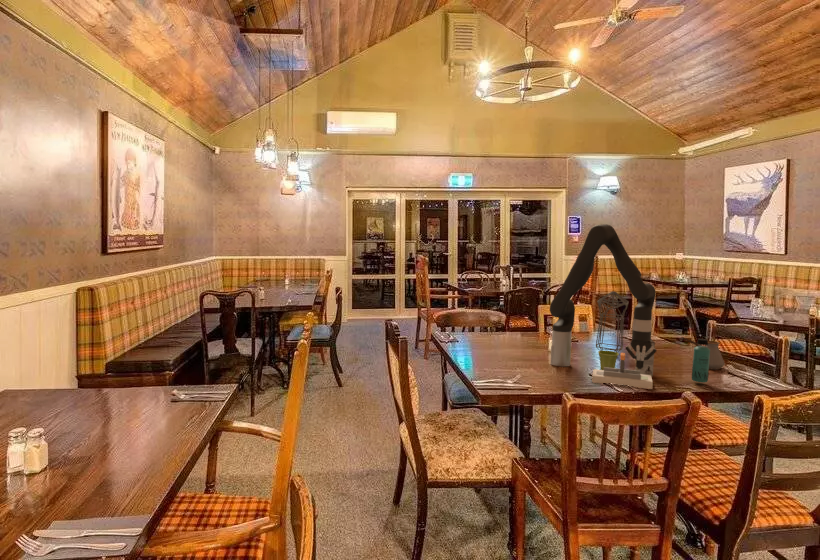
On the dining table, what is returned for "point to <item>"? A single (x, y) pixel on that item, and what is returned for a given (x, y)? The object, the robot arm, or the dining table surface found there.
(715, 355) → the coffee pot
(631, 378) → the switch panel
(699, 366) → the beverage bottle
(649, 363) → the coffee box
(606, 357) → the plant pot
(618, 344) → the geometric lantern
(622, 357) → the handle
